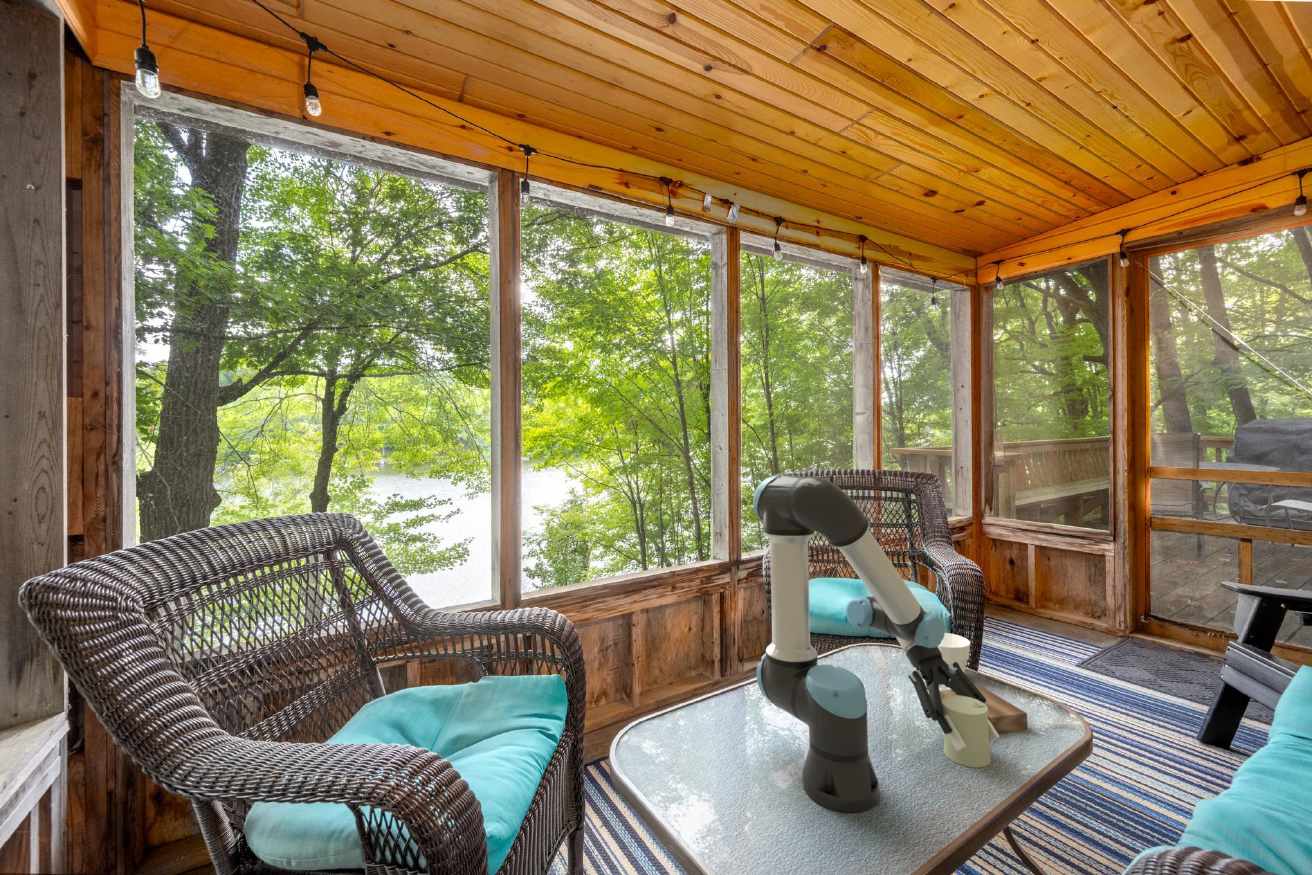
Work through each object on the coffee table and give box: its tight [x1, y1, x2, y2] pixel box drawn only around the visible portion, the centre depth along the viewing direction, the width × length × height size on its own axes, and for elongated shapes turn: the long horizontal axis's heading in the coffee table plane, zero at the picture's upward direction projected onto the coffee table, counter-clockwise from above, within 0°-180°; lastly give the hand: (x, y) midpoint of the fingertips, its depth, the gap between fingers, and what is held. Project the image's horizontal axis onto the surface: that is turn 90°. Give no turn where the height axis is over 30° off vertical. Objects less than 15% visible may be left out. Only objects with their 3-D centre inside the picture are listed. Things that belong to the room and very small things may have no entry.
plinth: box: [939, 686, 1029, 734], centre depth 137 cm, size 15×15×4 cm
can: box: [942, 695, 992, 769], centre depth 121 cm, size 9×9×12 cm
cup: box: [937, 632, 971, 681], centre depth 161 cm, size 12×12×11 cm
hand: (978, 743), depth 118 cm, fingers closed on can, 9 cm apart
